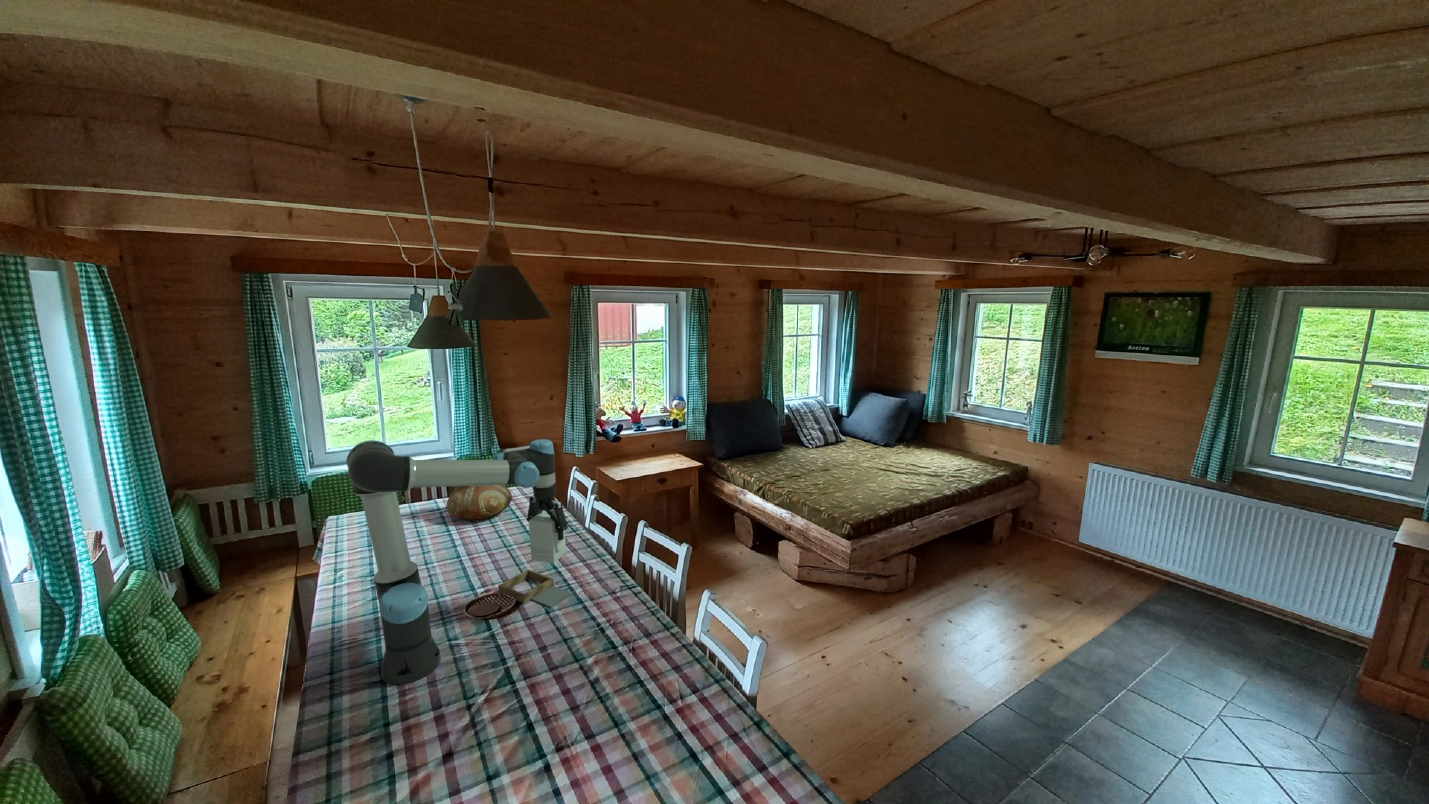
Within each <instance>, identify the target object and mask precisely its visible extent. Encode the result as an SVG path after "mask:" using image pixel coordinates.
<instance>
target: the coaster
mask: <svg viewBox="0 0 1429 804" xmlns="http://www.w3.org/2000/svg"><path fill="white" fill-rule="evenodd" d="M572 595H573V593H572V592H570V591H568V590H565V589H563V588H560V587H557V586H555V585H554V586H551V587H549V588H548V589H546V590H544V591H543V592H541V593H539V594H538V595H536V596H534V597H532V598H531V600H530V601H533V602H535V603H538V604H540V605H542V606H546V607H547V608H554V607H555V606H556V605H558V604H560V603H562V601H565V600H566V599H567V598H569V597H570V596H572Z"/></svg>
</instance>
